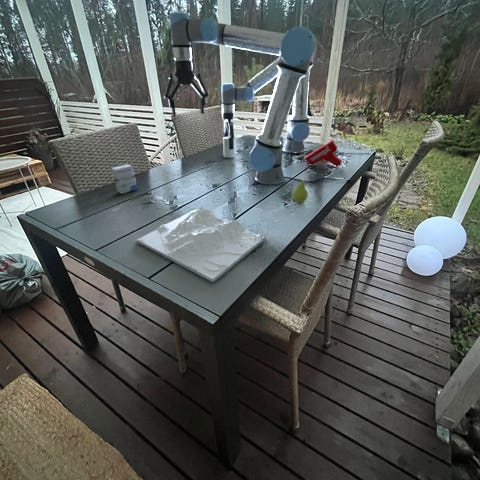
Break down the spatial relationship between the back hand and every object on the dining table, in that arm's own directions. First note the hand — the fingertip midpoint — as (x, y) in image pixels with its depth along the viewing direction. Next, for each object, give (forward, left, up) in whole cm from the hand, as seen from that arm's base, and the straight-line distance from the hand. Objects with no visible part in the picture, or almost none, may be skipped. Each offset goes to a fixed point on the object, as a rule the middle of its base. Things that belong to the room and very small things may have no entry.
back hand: (229, 146), depth 181 cm
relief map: (+33, +101, -6) cm, 107 cm away
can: (0, 0, -6) cm, 6 cm away
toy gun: (-49, +37, -6) cm, 62 cm away
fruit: (-14, +80, -6) cm, 82 cm away
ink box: (+62, +45, -6) cm, 77 cm away
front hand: (+28, +41, +26) cm, 56 cm away
